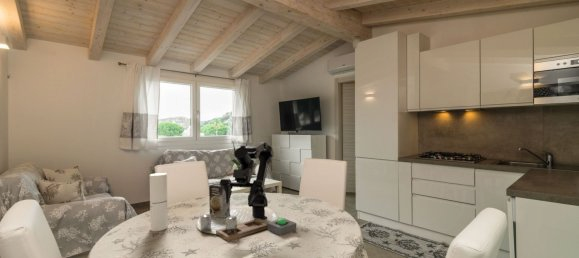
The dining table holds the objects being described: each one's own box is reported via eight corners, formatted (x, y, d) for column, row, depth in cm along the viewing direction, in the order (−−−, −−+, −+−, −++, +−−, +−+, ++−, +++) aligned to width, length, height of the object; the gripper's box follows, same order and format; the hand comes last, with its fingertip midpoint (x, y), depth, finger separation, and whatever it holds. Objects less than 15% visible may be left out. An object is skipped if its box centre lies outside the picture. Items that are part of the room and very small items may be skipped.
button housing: (267, 232, 117) (267, 222, 117) (283, 226, 123) (282, 218, 123) (280, 238, 110) (280, 228, 110) (296, 232, 116) (296, 223, 116)
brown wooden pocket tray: (216, 236, 113) (216, 230, 113) (255, 224, 127) (255, 219, 127) (227, 243, 106) (227, 237, 106) (268, 230, 119) (268, 224, 119)
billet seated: (224, 234, 113) (224, 217, 113) (233, 231, 116) (233, 215, 116) (229, 237, 110) (229, 220, 109) (238, 234, 112) (238, 217, 112)
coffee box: (209, 215, 140) (208, 185, 140) (217, 212, 146) (217, 182, 145) (222, 218, 136) (221, 186, 135) (230, 214, 141) (230, 184, 141)
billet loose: (199, 231, 119) (198, 215, 119) (208, 228, 122) (208, 213, 122) (203, 234, 116) (202, 218, 116) (212, 231, 118) (212, 215, 118)
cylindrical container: (160, 231, 119) (159, 175, 119) (146, 230, 121) (145, 175, 121) (171, 225, 126) (170, 173, 126) (157, 224, 128) (156, 172, 128)
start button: (275, 224, 117) (275, 219, 117) (282, 221, 120) (282, 217, 120) (281, 226, 114) (281, 221, 114) (288, 224, 117) (288, 219, 117)
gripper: (220, 160, 114) (209, 194, 104) (262, 161, 111) (255, 196, 101) (228, 173, 123) (218, 205, 113) (267, 175, 120) (261, 208, 110)
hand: (237, 204), depth 109 cm, fingers open, 9 cm apart
